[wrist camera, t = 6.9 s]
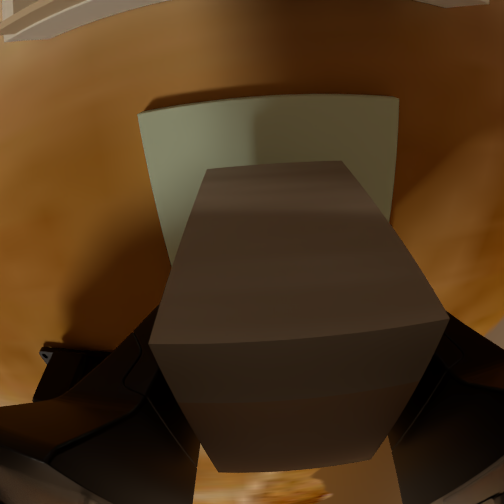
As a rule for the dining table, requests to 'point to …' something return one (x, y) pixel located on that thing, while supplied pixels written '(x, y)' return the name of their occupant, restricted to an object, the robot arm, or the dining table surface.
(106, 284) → the dining table surface
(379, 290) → the walnut box
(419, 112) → the dining table surface
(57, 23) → the carton
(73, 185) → the dining table surface
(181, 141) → the sage mat
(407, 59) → the dining table surface
